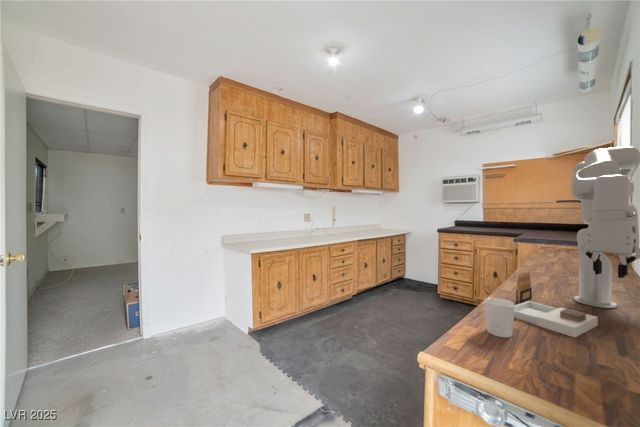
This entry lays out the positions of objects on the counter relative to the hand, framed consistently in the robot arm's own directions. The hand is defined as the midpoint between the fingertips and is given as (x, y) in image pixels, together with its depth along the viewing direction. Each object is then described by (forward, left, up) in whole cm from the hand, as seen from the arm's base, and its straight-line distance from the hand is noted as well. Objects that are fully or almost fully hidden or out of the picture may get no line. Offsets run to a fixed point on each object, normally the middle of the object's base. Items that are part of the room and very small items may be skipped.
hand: (609, 275), depth 82 cm
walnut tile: (0, -8, -16) cm, 18 cm away
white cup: (+26, -18, -20) cm, 37 cm away
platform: (0, -10, -19) cm, 22 cm away
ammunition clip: (-16, -30, -20) cm, 39 cm away
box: (0, -20, -19) cm, 28 cm away
